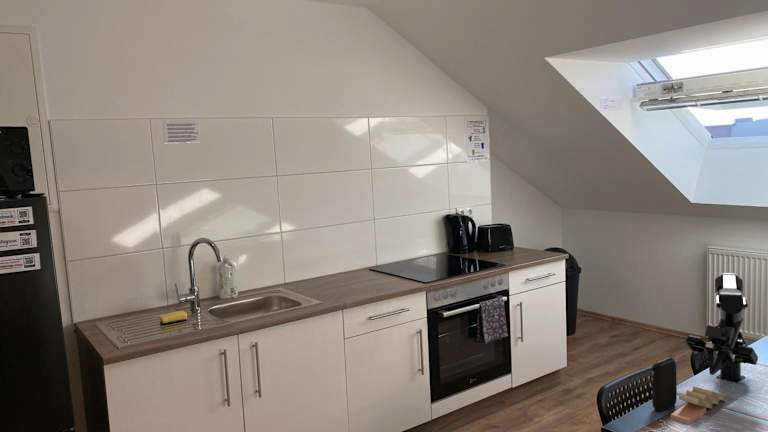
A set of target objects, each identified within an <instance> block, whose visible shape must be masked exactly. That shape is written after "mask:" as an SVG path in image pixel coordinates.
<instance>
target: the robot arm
mask: <svg viewBox="0 0 768 432" xmlns="http://www.w3.org/2000/svg"><path fill="white" fill-rule="evenodd" d="M738 275H739V274H738V273H735V272H722V273H720V276H717V277H716V278H714V293H716V308H718V309H719V312H720V313H719V314H720V318H719V321H718V324H717V325H715V326H713V325H708V324H707V325H706V327H705V333H704V337H708V338H707V339H708V341H704V340H703V338H702V337H700V336H698V335H697V336H696V335H691V334H689V335H687V336H686V338H685V340H684V343H685V344H686V346H687V347H688V348H689V350H690V351H692V352H694V353H698V354H703V353H706V355H707V356H708V364H709V365H708V371H709V374H710V375H711V376H714V375H716V373H718V372H720V374H718V375H716V376H715V378H716V379H720V380H723V381H727V382H731V383H735V384H737V383H739V382H741V381H742V380H744V379H746V376H745V375H742V372H741V371H742V367H741V366H742V365H741V364H749V365H753V366H755V365H757V364H758V361H759V357H758V354H757V353H756V351H755V349H754V348H753V347H752V346H747V345H746V344H745V343H744V337H743V334H742V332H741V331H740V329H741V327H742V324H743V321H744V318H743V310H746V309H747V308H748V306H749V305H748V304H749V303H748V300H747V299H746V296H743V293H744V281H743V278H741V277H739V276H738Z"/></svg>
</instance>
